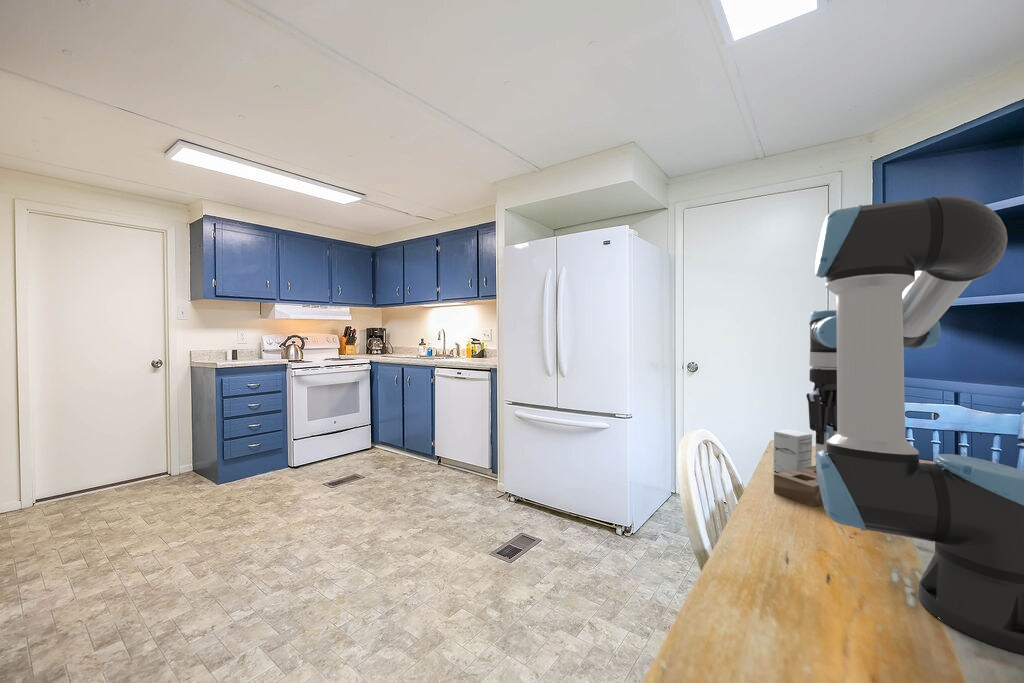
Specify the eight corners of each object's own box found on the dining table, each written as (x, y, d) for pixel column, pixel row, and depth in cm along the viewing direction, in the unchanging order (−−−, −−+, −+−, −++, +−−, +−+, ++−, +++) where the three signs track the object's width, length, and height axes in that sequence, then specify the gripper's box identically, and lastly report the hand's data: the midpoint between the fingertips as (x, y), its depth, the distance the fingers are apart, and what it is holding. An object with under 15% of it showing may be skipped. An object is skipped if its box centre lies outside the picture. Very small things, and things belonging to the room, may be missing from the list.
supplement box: (772, 471, 129) (772, 430, 128) (787, 468, 132) (787, 428, 132) (797, 479, 122) (797, 436, 122) (812, 475, 125) (813, 433, 125)
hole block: (813, 506, 102) (813, 486, 102) (773, 492, 112) (774, 473, 112) (856, 495, 110) (856, 476, 109) (816, 482, 119) (816, 465, 119)
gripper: (823, 370, 105) (822, 462, 106) (860, 368, 111) (859, 455, 112) (793, 368, 112) (792, 454, 113) (829, 366, 118) (828, 448, 119)
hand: (825, 455), depth 112 cm, fingers closed on peg, 3 cm apart
